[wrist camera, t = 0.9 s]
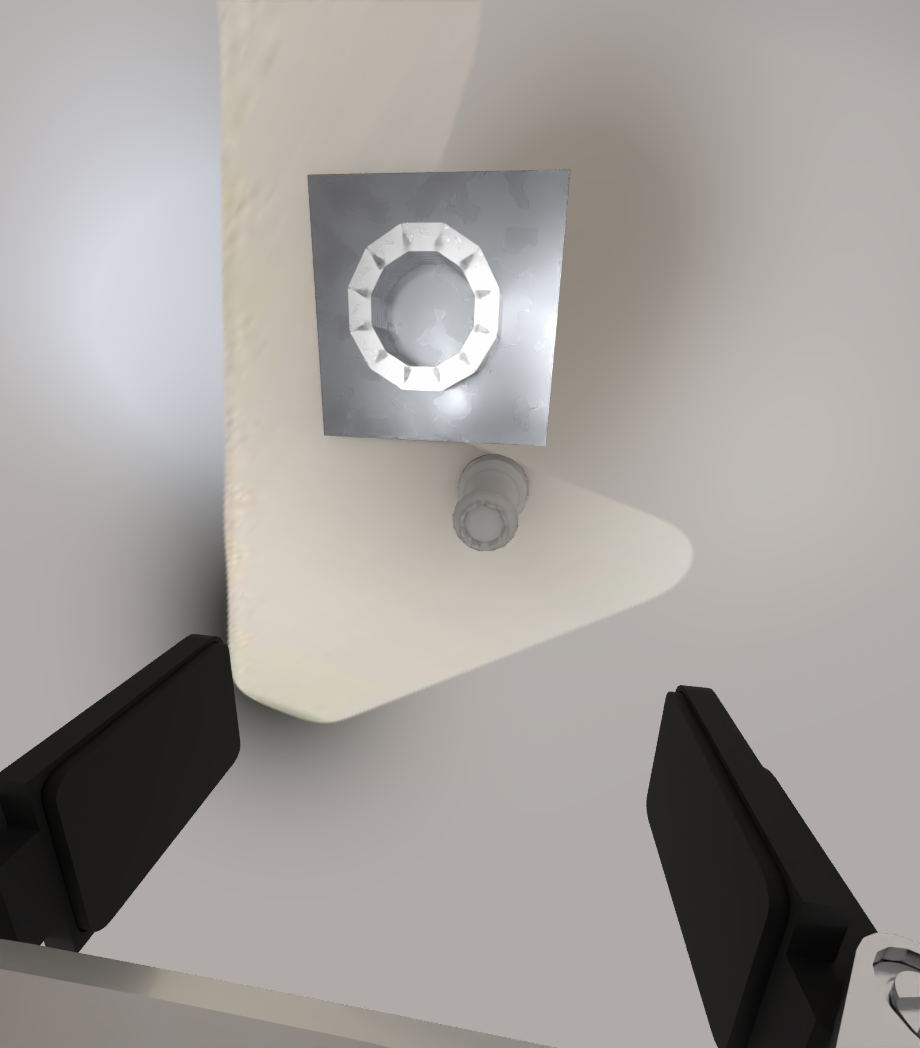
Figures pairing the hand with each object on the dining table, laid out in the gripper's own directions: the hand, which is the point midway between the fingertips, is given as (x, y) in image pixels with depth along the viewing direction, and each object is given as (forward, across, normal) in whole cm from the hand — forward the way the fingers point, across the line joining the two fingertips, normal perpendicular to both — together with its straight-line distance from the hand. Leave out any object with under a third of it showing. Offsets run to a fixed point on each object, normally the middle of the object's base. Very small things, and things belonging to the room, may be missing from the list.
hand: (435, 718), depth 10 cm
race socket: (+20, +4, -11) cm, 23 cm away
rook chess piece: (+21, 0, -1) cm, 21 cm away
